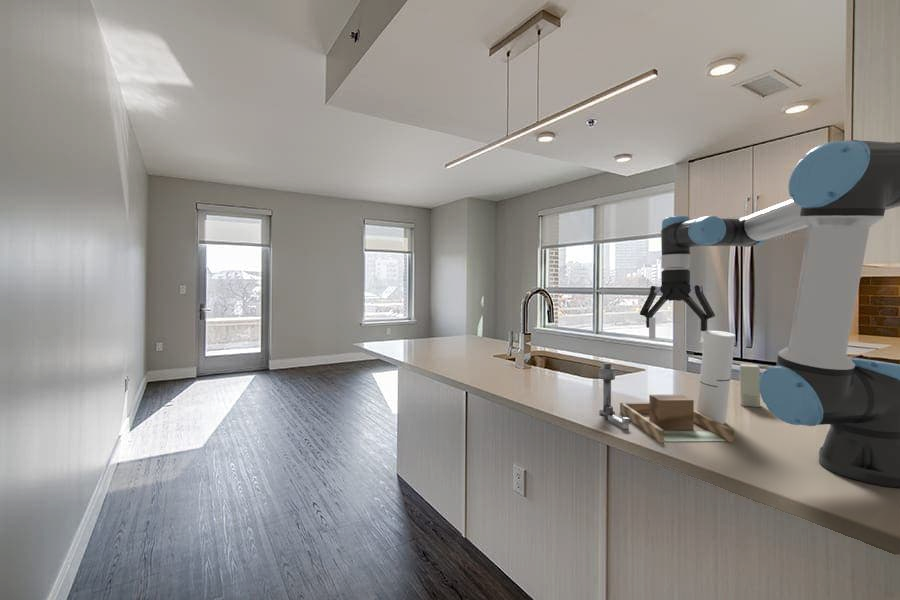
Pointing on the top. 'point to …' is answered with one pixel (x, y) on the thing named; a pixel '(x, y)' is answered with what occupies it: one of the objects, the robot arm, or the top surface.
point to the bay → (660, 435)
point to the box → (749, 385)
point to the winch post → (606, 385)
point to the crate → (671, 411)
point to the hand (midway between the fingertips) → (675, 340)
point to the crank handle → (617, 418)
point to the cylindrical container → (715, 374)
